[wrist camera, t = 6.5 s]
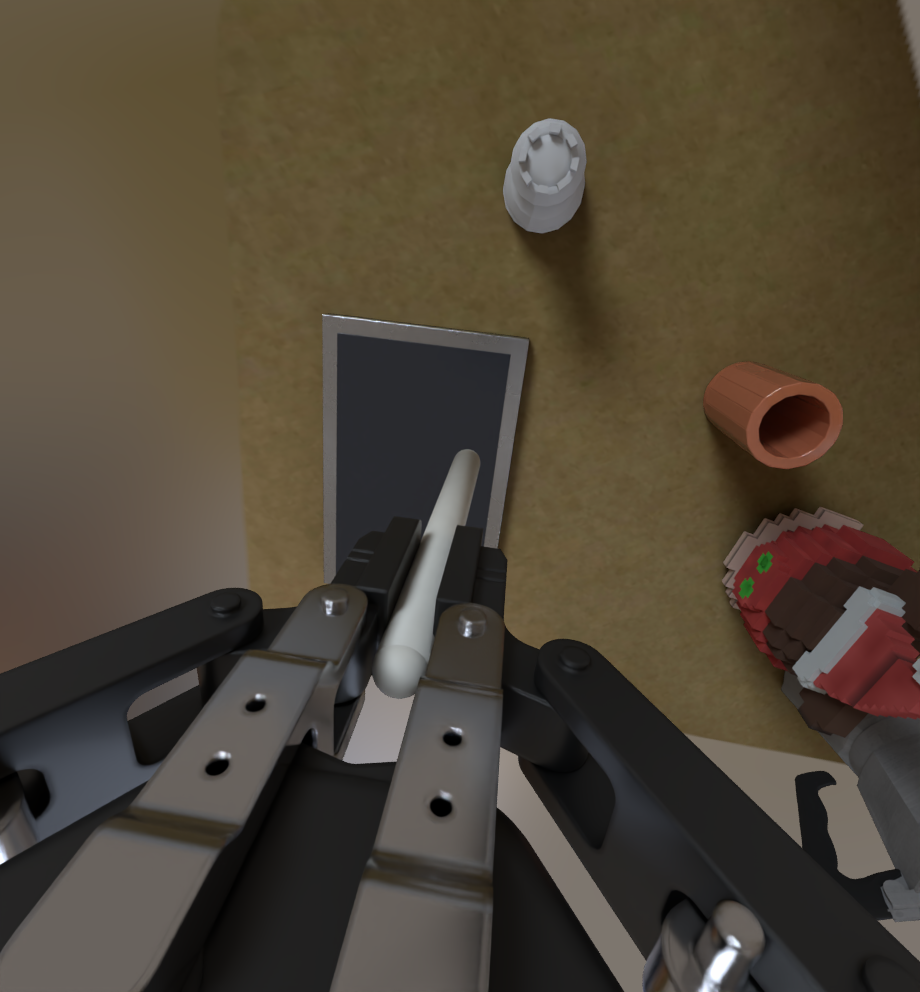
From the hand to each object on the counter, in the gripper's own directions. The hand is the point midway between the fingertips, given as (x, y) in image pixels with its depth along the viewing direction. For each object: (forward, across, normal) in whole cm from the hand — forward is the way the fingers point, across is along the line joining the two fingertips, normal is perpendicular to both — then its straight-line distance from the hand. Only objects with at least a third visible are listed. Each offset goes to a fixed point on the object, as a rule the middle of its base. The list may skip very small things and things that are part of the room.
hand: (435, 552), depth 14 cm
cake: (+22, -22, +10) cm, 33 cm away
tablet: (+22, +4, +6) cm, 23 cm away
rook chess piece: (+22, -2, -12) cm, 25 cm away
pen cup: (+22, -16, -2) cm, 27 cm away
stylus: (+8, 0, 0) cm, 8 cm away
